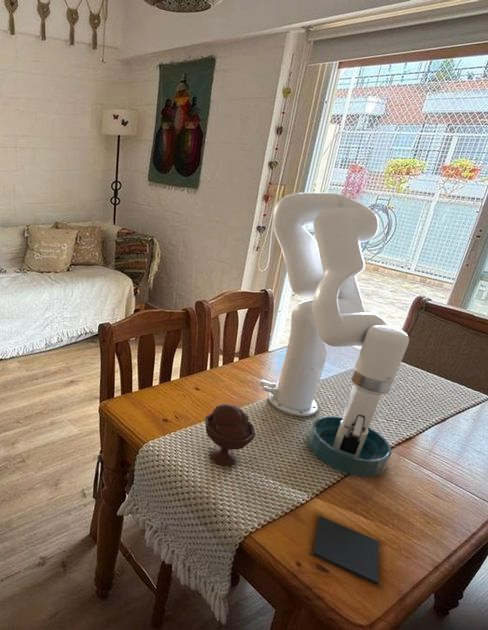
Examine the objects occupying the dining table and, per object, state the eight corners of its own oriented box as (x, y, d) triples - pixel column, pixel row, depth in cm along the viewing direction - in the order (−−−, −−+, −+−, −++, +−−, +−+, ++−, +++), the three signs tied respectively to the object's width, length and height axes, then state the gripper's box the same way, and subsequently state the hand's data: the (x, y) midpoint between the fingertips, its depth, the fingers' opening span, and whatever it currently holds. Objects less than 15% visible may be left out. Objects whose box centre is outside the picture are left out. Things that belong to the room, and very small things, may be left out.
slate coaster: (312, 554, 81) (313, 552, 80) (319, 517, 88) (319, 515, 88) (377, 584, 76) (378, 582, 75) (377, 543, 83) (378, 540, 83)
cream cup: (330, 453, 105) (339, 428, 102) (332, 440, 109) (341, 416, 106) (358, 463, 102) (368, 437, 99) (359, 449, 107) (369, 424, 103)
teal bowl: (303, 459, 104) (308, 442, 102) (311, 424, 116) (316, 408, 114) (384, 489, 96) (392, 472, 94) (384, 448, 108) (391, 432, 106)
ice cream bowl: (242, 482, 97) (255, 427, 90) (192, 462, 102) (202, 408, 96) (251, 454, 105) (265, 402, 99) (205, 437, 110) (215, 386, 104)
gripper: (354, 359, 106) (333, 420, 113) (349, 391, 93) (326, 458, 100) (391, 368, 102) (367, 431, 110) (392, 404, 89) (365, 472, 96)
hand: (348, 443), depth 105 cm, fingers closed on cream cup, 5 cm apart
